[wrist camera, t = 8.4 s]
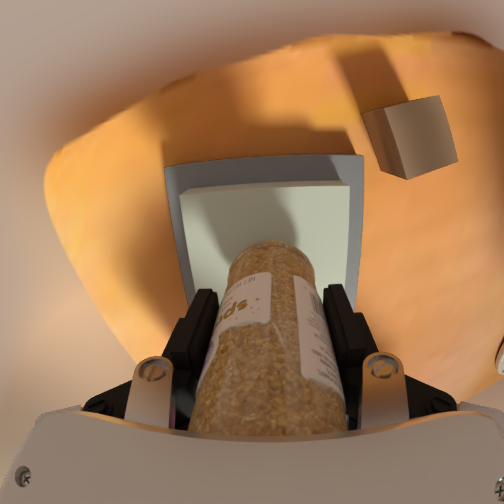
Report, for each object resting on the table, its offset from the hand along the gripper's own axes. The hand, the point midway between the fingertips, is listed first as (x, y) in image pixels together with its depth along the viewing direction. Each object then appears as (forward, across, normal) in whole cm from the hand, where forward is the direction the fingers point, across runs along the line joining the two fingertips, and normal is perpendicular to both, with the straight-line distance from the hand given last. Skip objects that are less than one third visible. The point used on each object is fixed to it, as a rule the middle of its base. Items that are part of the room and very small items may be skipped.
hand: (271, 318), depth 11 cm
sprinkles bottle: (+4, 0, 0) cm, 4 cm away
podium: (+8, 0, 0) cm, 8 cm away
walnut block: (+8, -9, -8) cm, 14 cm away
